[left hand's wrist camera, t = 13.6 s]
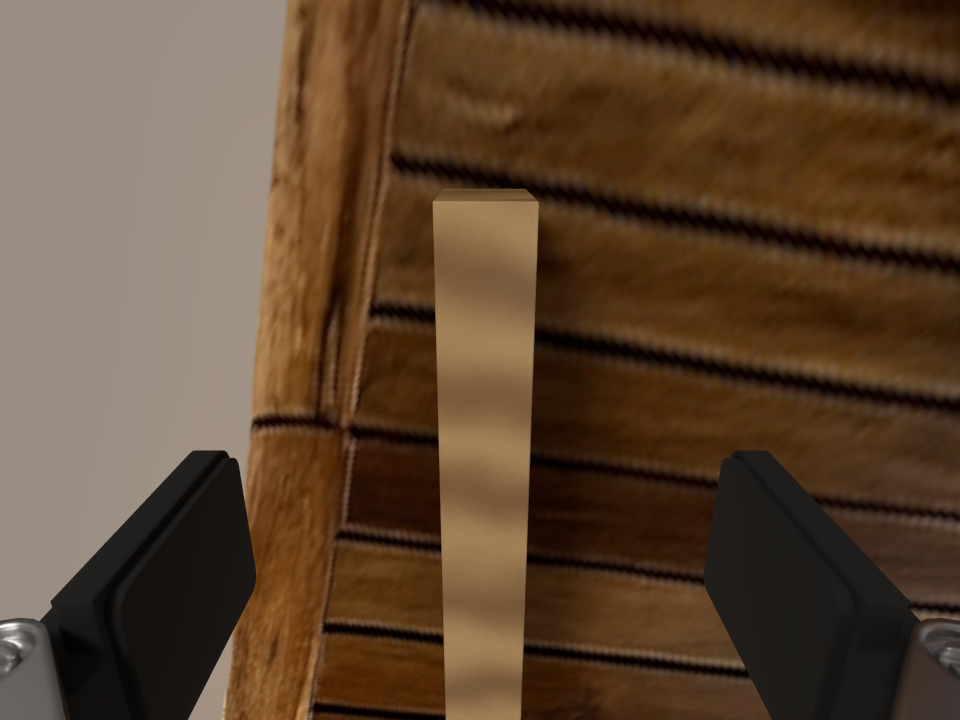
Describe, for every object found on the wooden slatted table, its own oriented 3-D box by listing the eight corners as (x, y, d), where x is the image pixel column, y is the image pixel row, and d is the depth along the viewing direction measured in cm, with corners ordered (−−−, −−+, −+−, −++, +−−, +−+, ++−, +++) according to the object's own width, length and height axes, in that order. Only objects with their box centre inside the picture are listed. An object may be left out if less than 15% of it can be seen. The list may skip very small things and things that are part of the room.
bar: (442, 188, 33) (432, 201, 26) (526, 189, 33) (539, 201, 26) (457, 922, 57) (454, 1036, 50) (505, 922, 57) (509, 1036, 50)
